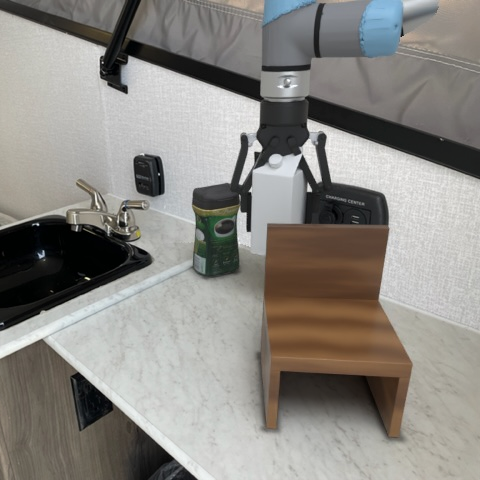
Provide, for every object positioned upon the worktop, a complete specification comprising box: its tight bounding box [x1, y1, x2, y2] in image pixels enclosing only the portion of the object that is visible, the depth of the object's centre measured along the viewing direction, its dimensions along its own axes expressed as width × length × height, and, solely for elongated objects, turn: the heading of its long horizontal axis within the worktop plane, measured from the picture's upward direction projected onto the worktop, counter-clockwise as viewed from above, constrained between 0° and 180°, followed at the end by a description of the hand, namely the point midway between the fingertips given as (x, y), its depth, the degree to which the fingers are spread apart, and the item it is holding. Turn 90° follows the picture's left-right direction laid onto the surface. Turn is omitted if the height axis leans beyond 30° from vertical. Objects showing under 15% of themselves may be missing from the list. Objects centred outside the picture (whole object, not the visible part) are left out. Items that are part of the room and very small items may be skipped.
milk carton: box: [249, 146, 309, 257], centre depth 85 cm, size 7×7×19 cm
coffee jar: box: [191, 182, 241, 278], centre depth 103 cm, size 10×8×19 cm
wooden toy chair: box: [259, 223, 414, 438], centre depth 65 cm, size 16×16×22 cm
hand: (277, 229), depth 88 cm, fingers closed on milk carton, 9 cm apart
